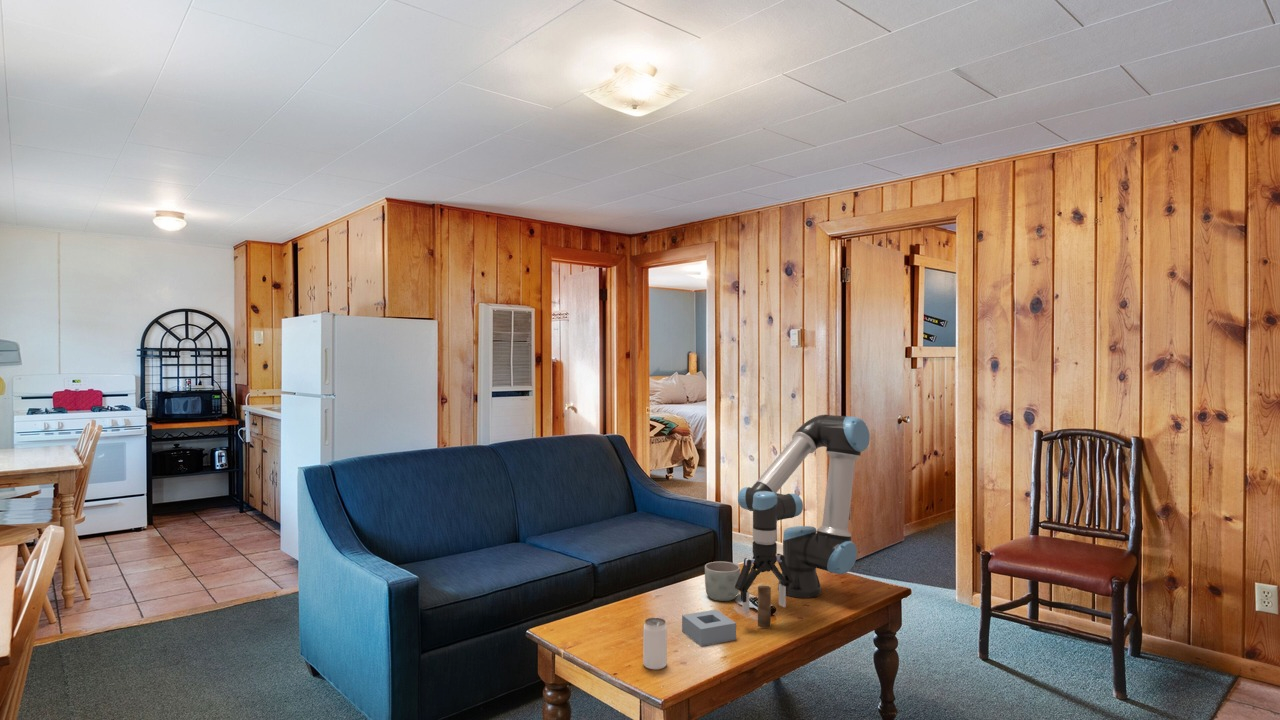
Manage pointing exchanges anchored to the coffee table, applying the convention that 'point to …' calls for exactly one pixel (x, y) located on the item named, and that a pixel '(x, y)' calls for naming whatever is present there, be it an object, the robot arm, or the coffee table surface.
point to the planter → (721, 580)
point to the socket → (708, 627)
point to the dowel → (764, 606)
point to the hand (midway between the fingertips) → (764, 608)
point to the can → (655, 644)
